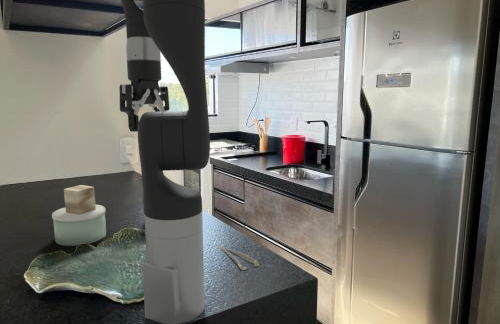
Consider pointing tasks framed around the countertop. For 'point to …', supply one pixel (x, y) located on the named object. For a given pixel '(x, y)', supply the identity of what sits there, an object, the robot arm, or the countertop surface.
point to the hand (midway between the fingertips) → (147, 130)
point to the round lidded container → (79, 226)
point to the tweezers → (241, 257)
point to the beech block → (79, 199)
